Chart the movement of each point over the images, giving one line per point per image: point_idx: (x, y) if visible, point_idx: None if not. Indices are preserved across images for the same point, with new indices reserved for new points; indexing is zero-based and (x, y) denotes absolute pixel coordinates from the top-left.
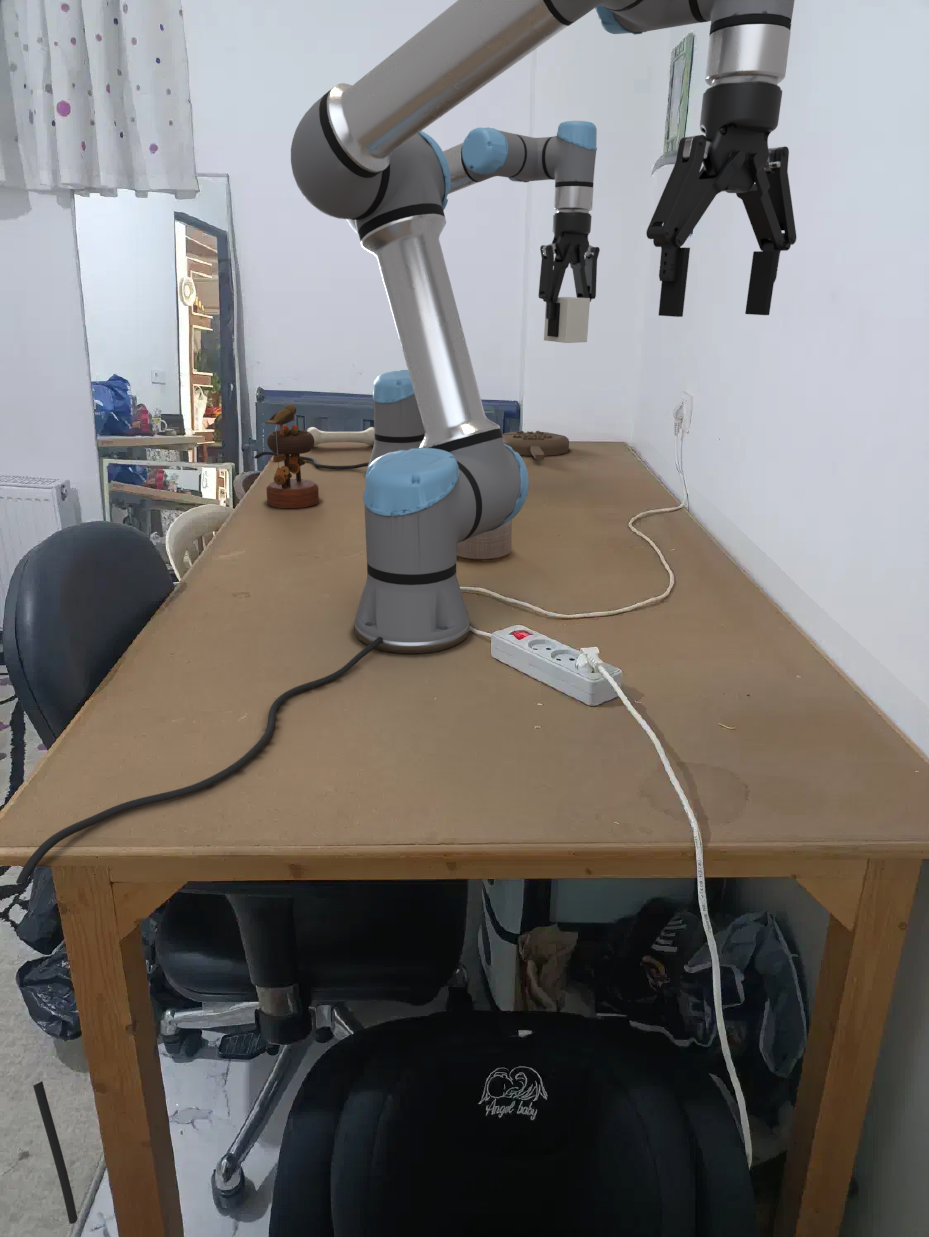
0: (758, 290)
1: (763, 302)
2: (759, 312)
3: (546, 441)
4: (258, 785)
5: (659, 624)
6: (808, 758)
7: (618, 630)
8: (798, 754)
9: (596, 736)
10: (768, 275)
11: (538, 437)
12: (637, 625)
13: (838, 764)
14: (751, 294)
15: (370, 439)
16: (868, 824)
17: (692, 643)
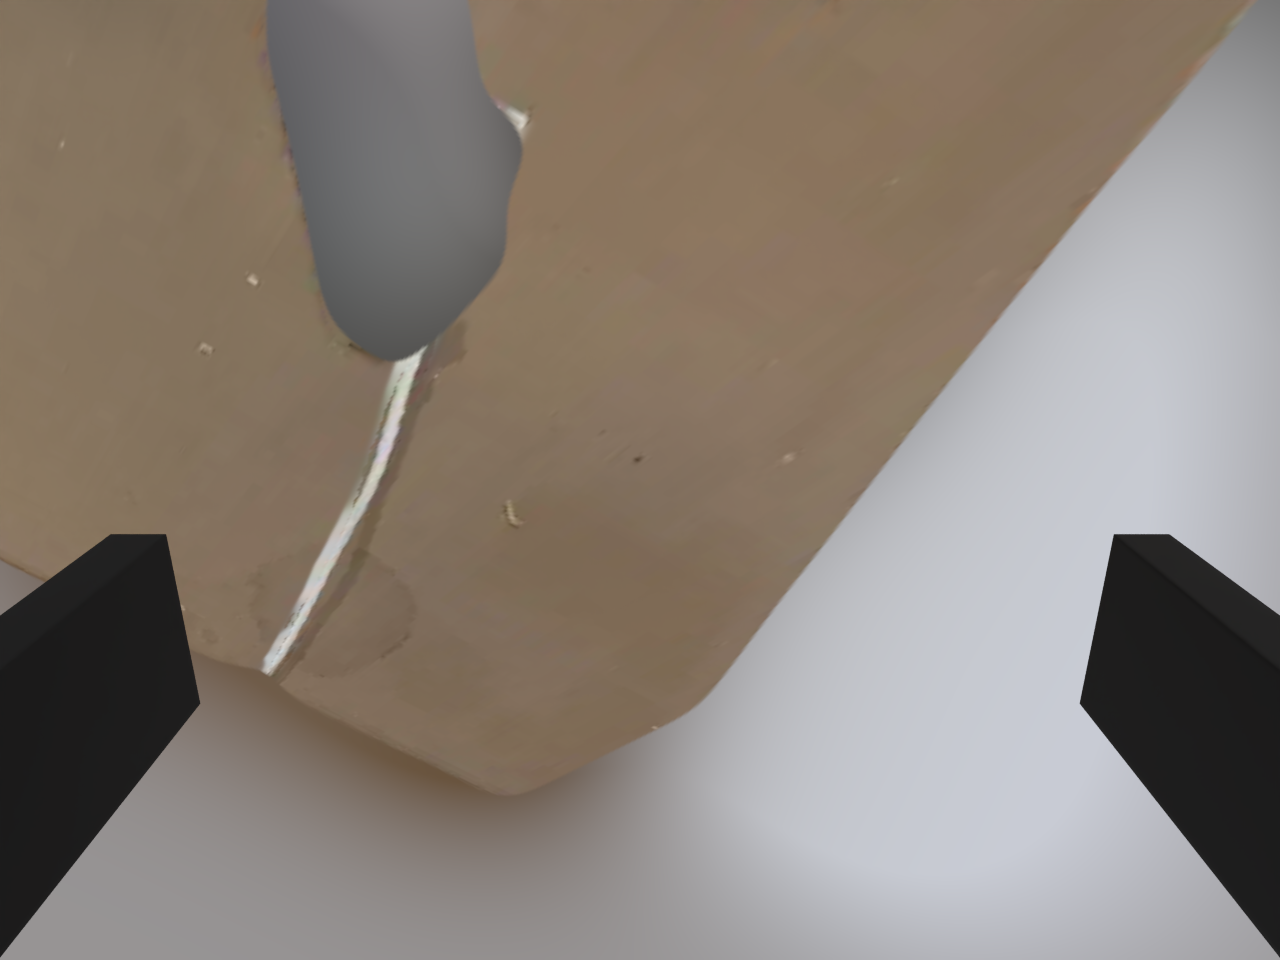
0: (1198, 737)
1: (1131, 735)
2: (1099, 667)
3: None
4: None
5: (761, 92)
6: (548, 637)
7: (641, 64)
8: (544, 623)
9: (286, 427)
10: (1264, 916)
11: None
12: (707, 65)
13: (573, 667)
14: (1197, 647)
15: None
16: (482, 759)
17: (738, 227)
